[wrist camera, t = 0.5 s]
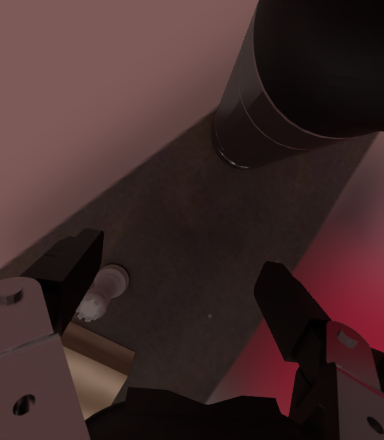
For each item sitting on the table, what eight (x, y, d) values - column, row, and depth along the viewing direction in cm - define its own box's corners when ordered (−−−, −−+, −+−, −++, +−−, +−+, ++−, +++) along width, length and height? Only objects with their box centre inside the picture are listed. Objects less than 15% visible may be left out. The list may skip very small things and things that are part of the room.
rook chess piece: (109, 298, 30) (81, 337, 22) (92, 272, 29) (57, 303, 21) (136, 283, 30) (117, 318, 22) (119, 257, 29) (94, 283, 21)
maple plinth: (61, 317, 30) (42, 336, 26) (135, 352, 31) (127, 376, 27) (28, 380, 32) (5, 408, 28) (100, 412, 33) (88, 443, 29)
